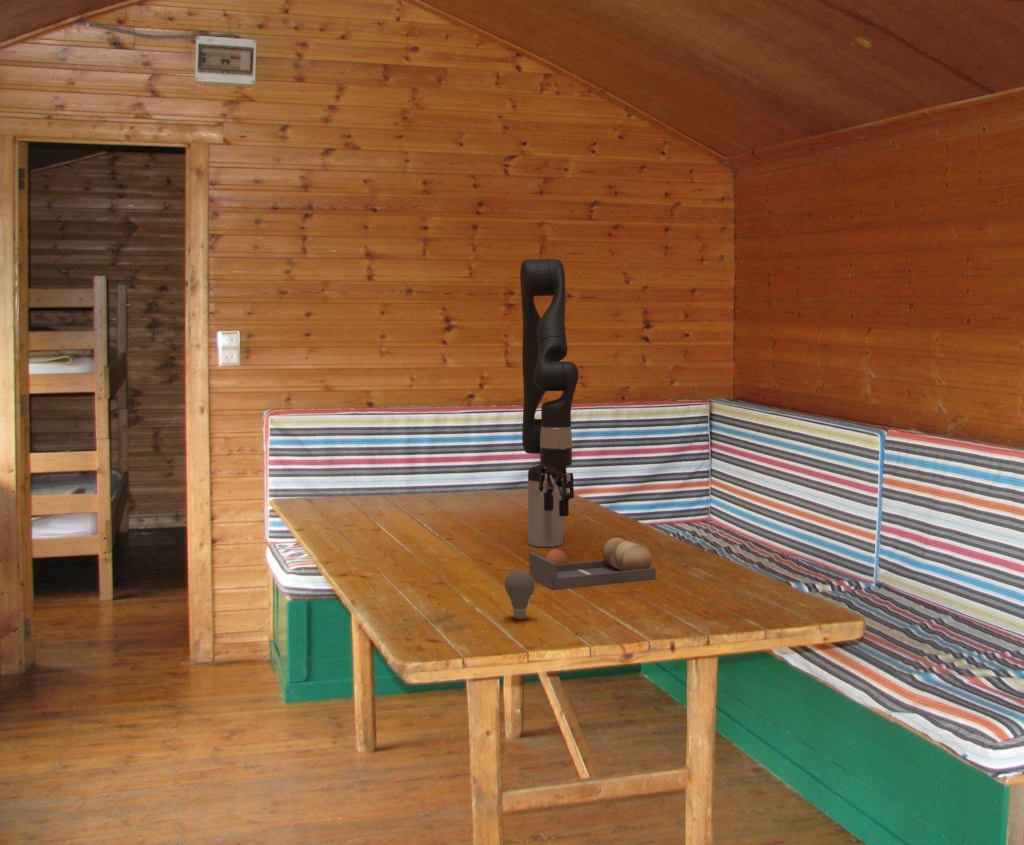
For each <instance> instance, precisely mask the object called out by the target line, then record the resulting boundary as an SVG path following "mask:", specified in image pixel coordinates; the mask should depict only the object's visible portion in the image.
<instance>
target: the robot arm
mask: <svg viewBox="0 0 1024 845" xmlns="http://www.w3.org/2000/svg"><path fill="white" fill-rule="evenodd" d="M519 271H520V272H519V278H520V280H519V281H520V282H519V283H520V297H521V298H520V299H521V310H522V355H521V356H522V358H521V360H522V362H521V363H522V381H523V383H522V384H523V385H522V386H523V411H522V426H521V427H522V433H521V437H522V438H521V440H522V447H523V448H522V449H523V450H524V452H525V453H526V454H531V455H537V454H538V455H539V458H540V459H539V464H538V465H534V466H532V467H530V468H529V469H528V472H527V544H528V545H529V546H533V547H539V548H550V547H551V548H552V547H558V546H562V545H563V544H564V517H568V516H569V512H570V511H569V505H570V503H569V501H570V500H571V499H574V497H575V493H574V489H575V488H574V473H573V472H567V467H570V466H572V463H573V434H572V433H573V432H572V404H573V399H574V395H575V391H576V388H577V384H578V382H579V376H580V375H579V374H580V373H579V369H578V367H577V364H576V363H574V362H573V361H570V360H569V361H568V360H567V361H566V360H564V359H565V358H566V357H567V355H568V350H569V349H568V342H567V341H568V340H567V333H566V324H565V323H566V322H565V320H566V273H565V272H566V271H565V267H564V264H563V261H561V260H560V259H557V258H534V259H533V258H531V259H524V260H523V261H522V262H521V263H520V270H519ZM550 296H551V297H552V300H551V302H550V304H549V306H548V308H547V309H546V310H545V312H544V313H543V315H542V316H540V313H539V312H538V310H537V306H536V304H535V300H534V298H535V297H550ZM562 360H563V361H562ZM546 392H562V394H561V395H560V396H559V397H558V398H557V399H554V400H548V401H545V402H543V404H542V405H541V410H540V411H541V414H540V415H541V417H540V418H535V417H536V412H537V409H538V406H539V405H540V402H541V400H542V399H543V398H544V395H546V394H545V393H546Z"/></svg>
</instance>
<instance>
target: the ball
mask: <svg viewBox="0 0 1024 845" xmlns="http://www.w3.org/2000/svg"><path fill="white" fill-rule="evenodd" d="M545 558H546V559H548V560H550V561H553V562H555V563H557V565H558V564H567V556H566V553H565V552H564V551H563V550H561V549H559V548H554V549H551V550H550V551H549V552H548V553H547V554H546V557H545Z"/></svg>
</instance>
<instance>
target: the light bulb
mask: <svg viewBox="0 0 1024 845" xmlns="http://www.w3.org/2000/svg"><path fill="white" fill-rule="evenodd" d="M535 586H536V584H535V580H534V579H533V577H532V576H531V575H530V574H529V572H528V571H526V570H523V569H516V570H515V569H514V570H513V571H511V572H509V574H508V575H507V577H506V578H505V581H504V588H505V592H506V593H507V595H508V597H509V599H510V602H511V603H510V604H511V606H512V613H513V615H512V616H513V618H514V619H517V620H519V621H521V620H523V619H526V618H527V607H528V605H529V600H530V597H531V596H532V594H533V593H534V590H535Z"/></svg>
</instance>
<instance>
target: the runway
mask: <svg viewBox="0 0 1024 845" xmlns="http://www.w3.org/2000/svg"><path fill="white" fill-rule="evenodd" d="M528 554H529V555H528V556H529V557H528V560H529V561H528V563H529V564H528V565H529V572H528V573H529V574H530V575H531V576H532V577H533V579H534V582H535V581H536V582H537V583H539V584H541V585H543V586H544V587H547V588H549V589H551V590H554V591H555V590H563V589H572V588H573V589H574V588H583V587H590V586H591V587H593V586H599V585H600V586H601V585H608V584H609V585H610V584H619V583H627V582H639V581H647V580H655V579H656V570H657V569H656V568H655V567H650V568H647V569H637V570H628V571H621V570H619V569H617V568H614V567H612V566H610V565H608V564H607V563H606V562H605V561H604V559H600V560H590V561H581V562H579V561H578V562H572V563H570V562H569V563H565V564H558V565H557V563H555V562H553V561H550V560H548V559H546V558H547V557H544V556H542V555H540V554H537V553H535V552H529V553H528Z"/></svg>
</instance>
